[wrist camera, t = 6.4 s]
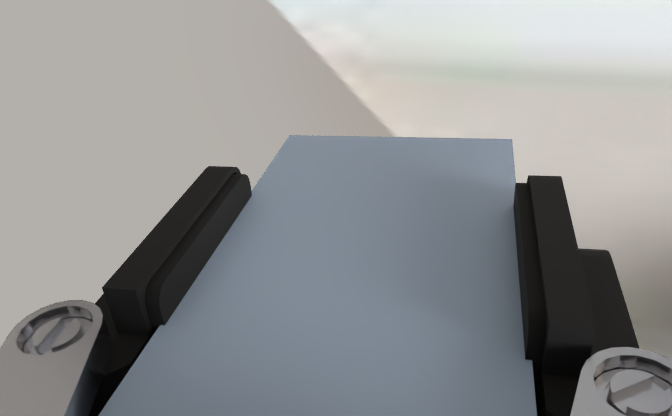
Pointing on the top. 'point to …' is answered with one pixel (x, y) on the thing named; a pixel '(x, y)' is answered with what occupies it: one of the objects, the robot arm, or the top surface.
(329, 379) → the domino
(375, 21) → the top surface
